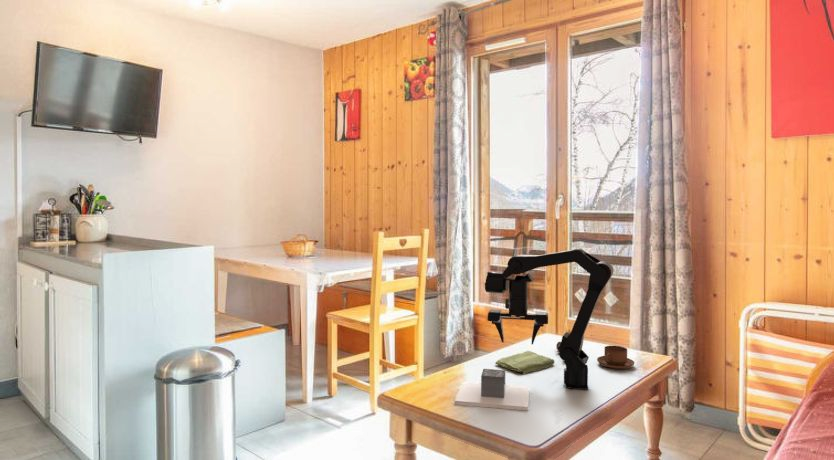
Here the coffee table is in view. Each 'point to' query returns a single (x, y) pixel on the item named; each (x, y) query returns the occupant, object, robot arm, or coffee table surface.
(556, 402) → the coffee table surface
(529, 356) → the washcloth
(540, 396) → the coffee table surface
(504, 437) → the coffee table surface
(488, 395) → the dark grey framed cube
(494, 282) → the robot arm
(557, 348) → the bolt
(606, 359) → the cup and saucer
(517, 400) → the post plate
